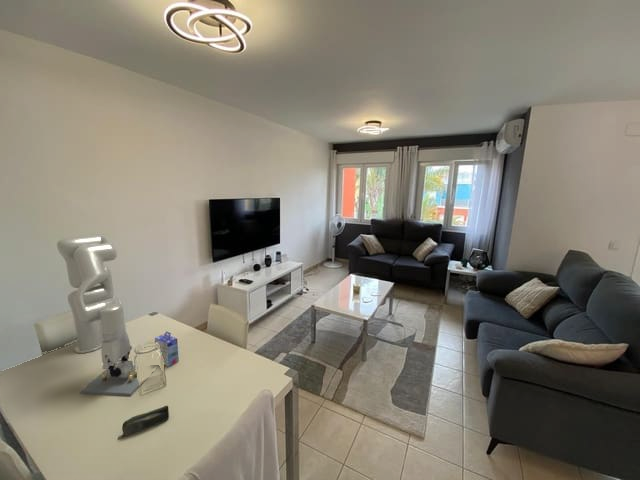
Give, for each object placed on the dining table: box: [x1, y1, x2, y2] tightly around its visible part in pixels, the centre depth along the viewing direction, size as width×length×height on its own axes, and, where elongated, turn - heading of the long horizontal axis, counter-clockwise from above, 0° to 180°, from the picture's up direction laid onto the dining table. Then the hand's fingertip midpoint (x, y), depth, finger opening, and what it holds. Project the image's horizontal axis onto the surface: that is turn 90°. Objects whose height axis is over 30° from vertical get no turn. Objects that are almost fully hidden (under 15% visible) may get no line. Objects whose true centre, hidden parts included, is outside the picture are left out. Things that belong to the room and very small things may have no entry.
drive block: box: [105, 359, 134, 378], centre depth 112 cm, size 5×8×5 cm, turn 88°
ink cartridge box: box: [154, 330, 180, 368], centre depth 125 cm, size 10×6×14 cm, turn 64°
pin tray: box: [79, 365, 140, 397], centre depth 113 cm, size 16×21×4 cm
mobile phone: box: [117, 405, 170, 440], centre depth 91 cm, size 5×3×15 cm
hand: (120, 371), depth 112 cm, fingers closed on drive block, 4 cm apart
